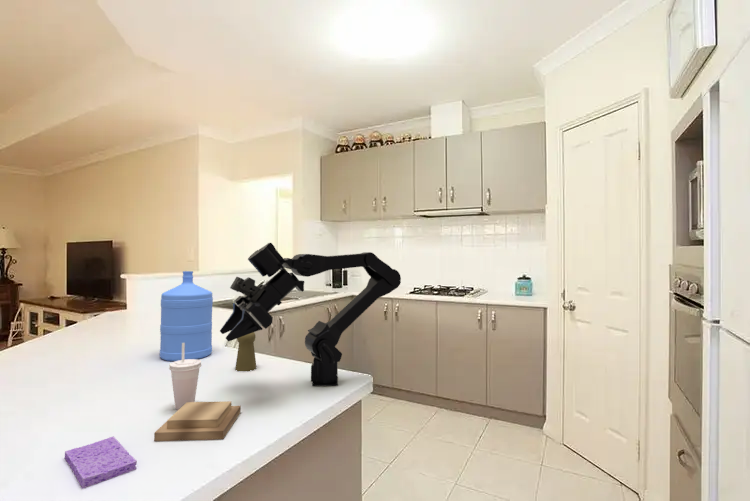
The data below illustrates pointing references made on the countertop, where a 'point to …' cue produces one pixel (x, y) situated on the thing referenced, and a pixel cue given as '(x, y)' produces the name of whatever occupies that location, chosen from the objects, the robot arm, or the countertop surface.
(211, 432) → the walnut base
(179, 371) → the smoothie
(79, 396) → the countertop surface
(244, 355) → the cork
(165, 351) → the water jug
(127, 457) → the sponges
